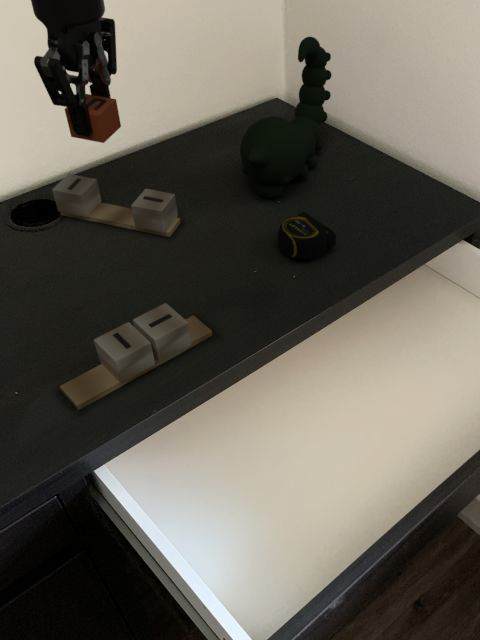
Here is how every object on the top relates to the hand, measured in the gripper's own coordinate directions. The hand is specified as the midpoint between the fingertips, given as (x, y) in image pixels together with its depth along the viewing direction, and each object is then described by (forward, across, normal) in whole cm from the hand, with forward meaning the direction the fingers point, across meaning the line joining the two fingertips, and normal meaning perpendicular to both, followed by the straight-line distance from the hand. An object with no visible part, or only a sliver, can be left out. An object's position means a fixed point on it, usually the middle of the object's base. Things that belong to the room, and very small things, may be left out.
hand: (94, 124), depth 82 cm
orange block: (+1, 0, 0) cm, 1 cm away
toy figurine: (+15, -22, +18) cm, 32 cm away
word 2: (+15, +23, +15) cm, 31 cm away
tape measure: (+15, -5, +26) cm, 31 cm away
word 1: (+15, -2, -1) cm, 15 cm away
